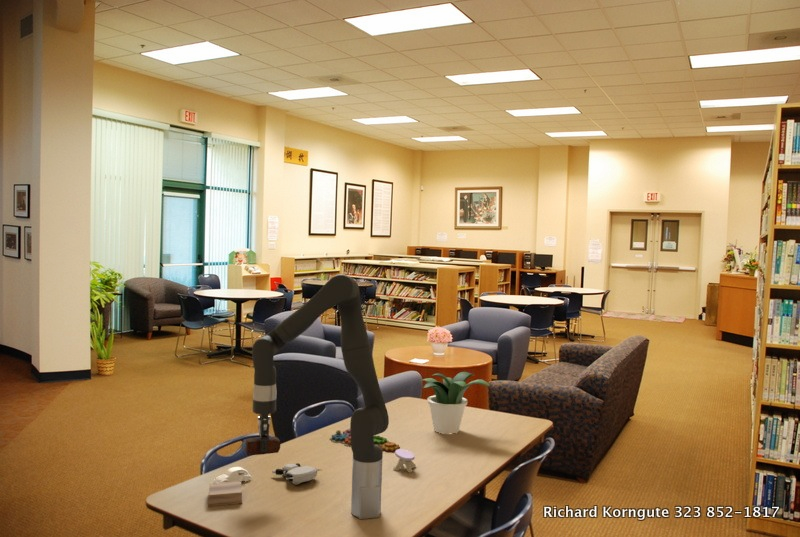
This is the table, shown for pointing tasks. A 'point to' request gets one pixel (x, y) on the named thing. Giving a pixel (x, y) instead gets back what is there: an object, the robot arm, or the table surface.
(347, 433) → the gear puzzle
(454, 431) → the potted plant
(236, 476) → the car
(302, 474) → the robot toy
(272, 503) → the table surface
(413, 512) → the table surface
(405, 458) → the toy table
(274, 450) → the brick
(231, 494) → the base brick
